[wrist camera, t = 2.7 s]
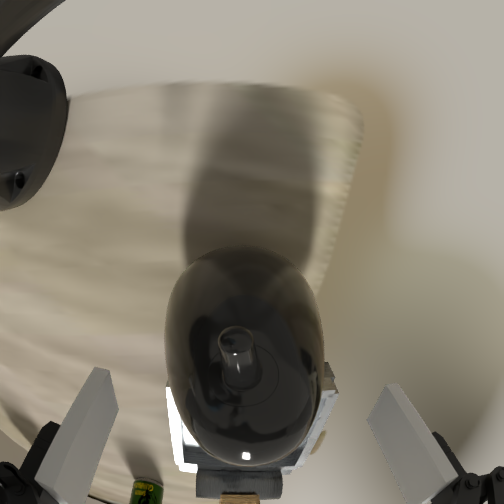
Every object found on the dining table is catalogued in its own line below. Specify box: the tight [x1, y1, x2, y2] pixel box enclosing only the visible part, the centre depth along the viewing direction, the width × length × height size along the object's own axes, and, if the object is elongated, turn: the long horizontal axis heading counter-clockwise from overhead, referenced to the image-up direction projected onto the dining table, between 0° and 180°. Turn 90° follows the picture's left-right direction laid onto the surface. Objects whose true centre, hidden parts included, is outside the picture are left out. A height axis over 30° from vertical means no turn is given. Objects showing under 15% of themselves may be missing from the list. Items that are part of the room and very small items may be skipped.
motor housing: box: [166, 362, 339, 504], centre depth 23 cm, size 20×15×9 cm
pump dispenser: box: [164, 246, 324, 467], centre depth 15 cm, size 10×10×15 cm
